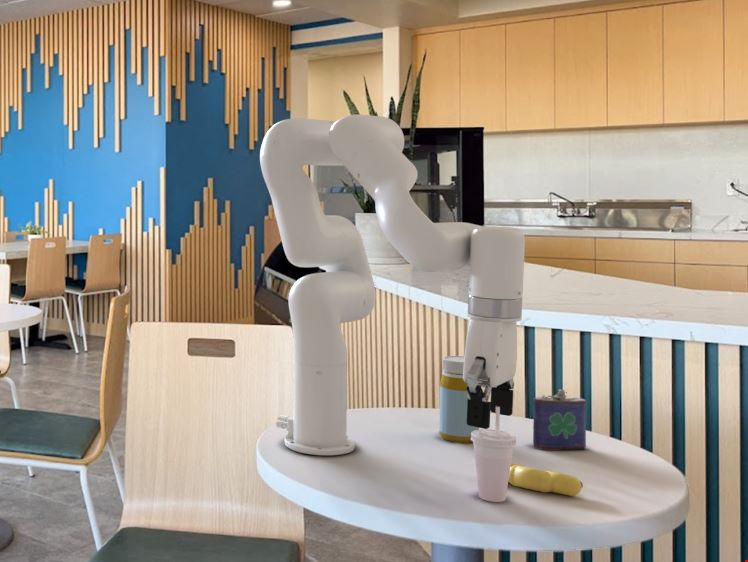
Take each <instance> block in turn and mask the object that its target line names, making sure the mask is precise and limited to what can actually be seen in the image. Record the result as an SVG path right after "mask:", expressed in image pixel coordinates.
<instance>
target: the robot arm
mask: <svg viewBox="0 0 748 562" xmlns="http://www.w3.org/2000/svg"><path fill="white" fill-rule="evenodd" d="M404 147H405V136H404V133H403V130H402V128H401V127H400V125H398V123H397V122H396V121H394V120H393V119H391V118H389V117H386V116H380V115H371V114H370V115H368V114H358V113H357V114H349V115H345V116H343V117H340V118H339V119H338V120H326V119H312V118H297V117H295V118H286V119H283V120H280V121H278V122H276V123H275V124H273V125H272V126H271V127H270V128H269V129H268V131H267V132H266V133H265V135H264V137H263V139H262V143H261V146H260V150H259V163H260V169H261V173H262V177H263V180H264V183H265V185H266V188H267V190H268V193H269V196H270V199H271V202H272V206H273V207H272V208H273V211H274V215H275V220H276V223H277V224H276V225H277V228H278V232H279V236H280V240H281V243H282V244H281V245H282V247H283V251H284V254H285V256H286V259H287V260H288V262H289V263H291V264H292V265H293V266H295V267H298V268H319V267H324V269H325V272H314V273H310V274H306V275H304V276H302V277H300V278H298V279H297V280H296V281H295V282H294V283H293V285H292V286H291V288H290V290H289V293H288V298H287V299H288V310H289V316H290V320H291V327H292V328H291V329H292V339H293V340H292V342H293V401H292V402H293V405H292V407H293V408H292V409H293V410H292V411H293V412H292V414H293V416H292V417H290V416H289V415H283V414H279V415H278V417H277V420H276V422H275V426H276V428H278V429H282V430H283V429H285V430H286V431H287V434H286V435H285V436H284V445H285V447H287V448H288V449H289V450H292V451H294V452H297V453H301V454H306V455H311V456H312V455H313V456H340V455H345V454H349V453H351V452H353V451H354V450H355V449H356V441H355V439H354V438H352V437H351V436H348V435H347V425H348V424H347V422H348V421H347V420H348V418H347V417H348V416H347V415H348V412H347V410H348V407H347V406H348V350H347V349H348V348H347V342H346V340H345V337H344V334H343V332H342V329H341V326H340V324H345V323H352V322H357V321H361V320H363V319H365V318H367V317H369V315H371V313H372V311H373V310H374V308H375V305H376V300H377V298H376V297H377V294H376V287H375V282H374V279H373V274H372V271H371V267H370V264H369V263H370V262H369V259H368V256H367V252H366V247H365V245H364V241H363V238H362V235H361V233H360V231H359V230H358V228H357V227H356V225H355V224H354V223H353V222H352V221H351V220H350V219H348V218H347V217H344V216H342V215H336V214H335V215H334V214H333V215H332V214H331V215H329V214H328V215H327V214H325V212H324V211H323V207H322V205H321V202H320V196H319V192H318V190H317V188H316V185H315V184H314V182H313V181H312V179H311V178H310V176H309V175H308V174H307V173H306V172H305V170H304V166H323V167H324V166H326V167H329V166H330V167H337V166H338V167H339V166H340V167H341V166H344V167H345V169H347V171H348V172H349V173H350V174H351V175H352V176H353V177H354V179H355V180H356V181H357V182H358V184H359V185H361V187H362V188H363V189H364V190H365V191H366V192H367V193H368V194H369V196H370V197H371V198H372V200H373V201H374V204H375V214H376V218H377V221H378V224H379V227H380V230H381V231H382V234H383V235H384V237H386V239H387V241H388V242H389V243H390V244H391V245H392V246H393V248H395V250H396V251H397V252H398V253H399V255H401V256H402V258H403V259H404V260H405V261H406V262H407V263H409V264H410V265H411V266H412V267H414V268H415V269H417V270H420V271H421V272H422V271H423V272H426V273H436V272H437V273H438V272H445V271H459V270H461V271H462V270H469V271H468V274H469V275H468V296H467V297H468V300H467V301H468V302H467V317H468V318H469V320H468V326H467V331H466V338H465V346H464V355H463V356H464V366H463V380H464V381H465V382H466V383H467V384H468V386H467V388H466V389H467V391H468V393H467V399H468V400H467V425H469V426H473V427H478V428H479V429H489V428H490V427H491V413H493V414H496V407H500V415H503V416H508V417H510V416H512V415H513V412H514V411H513V410H514V388H515V381H514V377H515V375H516V371H517V363H518V362H517V361H518V328H517V327H518V325H517V322H521V321H522V318H523V317H522V315H523V293H524V292H523V291H524V273H525V272H524V270H525V251H526V249H525V247H526V236H525V234H524V232H523V231H522V230H521V229H520V228H517V227H513V226H500V225H499V226H497V225H485V226H484V225H479V224H474V223H471V222H463V221H456V222H455V221H453V222H451V221H447V222H433V221H432V220H431V219H430V218H429V216H427V215H426V214H425V213H424V211H423V210H421V208H420V207H419V206H418V204H416V202H415V201H414V199H413V197H412V196H411V193H410V191H411V190H412V188H413V187H414V185H415V183H416V181H417V179H418V170H417V167H416V166H415V165H414V164H413V162H412V161H410V159H409V158H407V156H406V155H405V154H404V153H403V151H404ZM483 388H484V389H483ZM489 399H490V401H489Z"/></svg>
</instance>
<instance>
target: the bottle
mask: <svg viewBox="0 0 748 562" xmlns="http://www.w3.org/2000/svg"><path fill="white" fill-rule="evenodd" d="M463 366H464V355H463V356H462V355H447V356H444V357H442V376H441V379H440V381H439V412H438V413H439V415H438V417H439V419H438V420H439V421H438V422H439V423H438V424H439V425H438V430H439V431H438V433H439V435H440V436H441V438H442V439H444V440H445V441H450V442H454V443H462V444H464V443H467V444H469V443H473V441H472V440H471V433H472V432H473V431H475V430H480V428H478V427H473V426H469V425H467V400H468V399H467V393H468V391H467V389H466V388H467V386H468V384H467V383H466V382H465V381H464V380H463Z"/></svg>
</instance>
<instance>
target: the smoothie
mask: <svg viewBox="0 0 748 562" xmlns="http://www.w3.org/2000/svg"><path fill="white" fill-rule="evenodd" d="M500 416H501V414H500V407H496V413H495V428H494V429H489V428H488V429H483V428H480V429H479V430H475V431H473V432H472V433H471V440H472V441H473V442H472V444H473V454H474V462H475V471H476V479H477V489H478V496H479V499H481V500H483V501H487V502H490V503H502V502H505V501H506V498H507V493H508V487H509V482H508V480H509V473H510V467H511V463H512V460H513V455H514V448H515V446H516V445H517V437H516V435H514V434H513V433H511V432H508V431H504V430H500V419H501V417H500Z"/></svg>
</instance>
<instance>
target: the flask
mask: <svg viewBox="0 0 748 562" xmlns="http://www.w3.org/2000/svg"><path fill="white" fill-rule="evenodd" d="M557 391H558V392H557V393H556V394H554V395H548V396H545V394H542V396H538V397H535V398H533V410H532V411H533V415H532V416H533V421H532V422H533V423H532V424H533V426H532V430H533V431H532V432H533V434H532V436H533V437H532V445H533V446H532V447H533V448H534V449H538V450H551V451H563V450H565V451H574V450H575V451H576V450H577V451H581V450H586V447H587V400H586V399H584V398H581V397H567V395H566V394H567V393H568V391H565V390H564V389H561V388H559V389H557Z"/></svg>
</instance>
